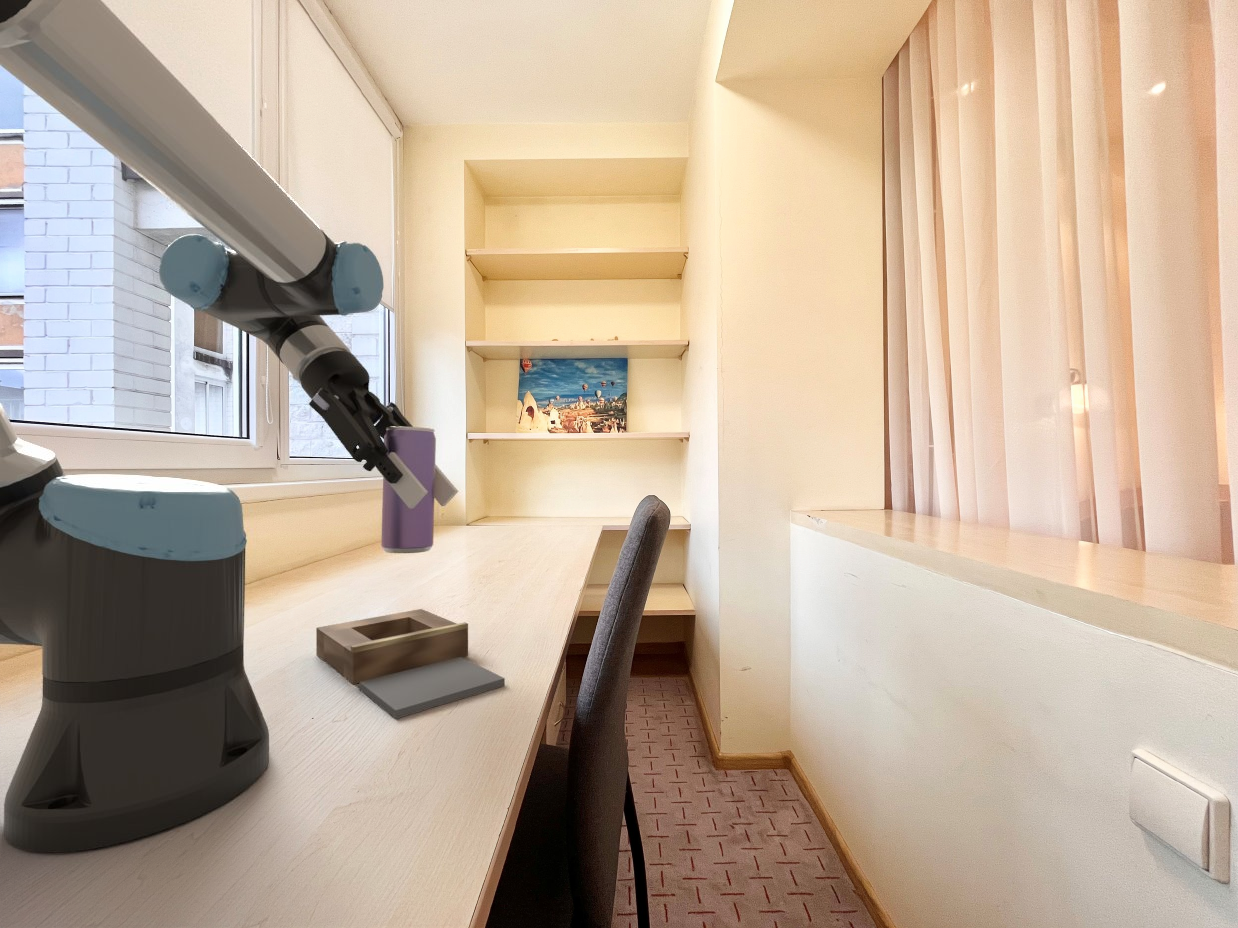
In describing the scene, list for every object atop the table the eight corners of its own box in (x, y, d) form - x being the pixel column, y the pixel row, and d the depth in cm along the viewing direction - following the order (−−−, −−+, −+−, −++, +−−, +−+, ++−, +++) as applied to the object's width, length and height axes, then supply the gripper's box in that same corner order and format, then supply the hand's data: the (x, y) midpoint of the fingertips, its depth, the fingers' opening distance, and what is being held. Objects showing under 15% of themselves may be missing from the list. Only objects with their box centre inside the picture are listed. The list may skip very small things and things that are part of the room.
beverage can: (423, 554, 67) (427, 426, 67) (372, 553, 67) (376, 425, 67) (439, 548, 73) (442, 431, 73) (392, 547, 73) (395, 430, 73)
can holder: (353, 684, 63) (353, 647, 63) (316, 654, 73) (316, 622, 73) (468, 655, 73) (468, 623, 73) (421, 632, 83) (421, 604, 83)
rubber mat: (395, 718, 54) (395, 710, 54) (359, 689, 62) (359, 681, 62) (504, 685, 62) (504, 678, 63) (461, 663, 70) (461, 656, 70)
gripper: (360, 400, 83) (457, 516, 78) (244, 378, 65) (361, 526, 60) (392, 363, 82) (492, 478, 77) (283, 329, 64) (406, 477, 59)
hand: (434, 499), depth 69 cm, fingers closed on beverage can, 6 cm apart
